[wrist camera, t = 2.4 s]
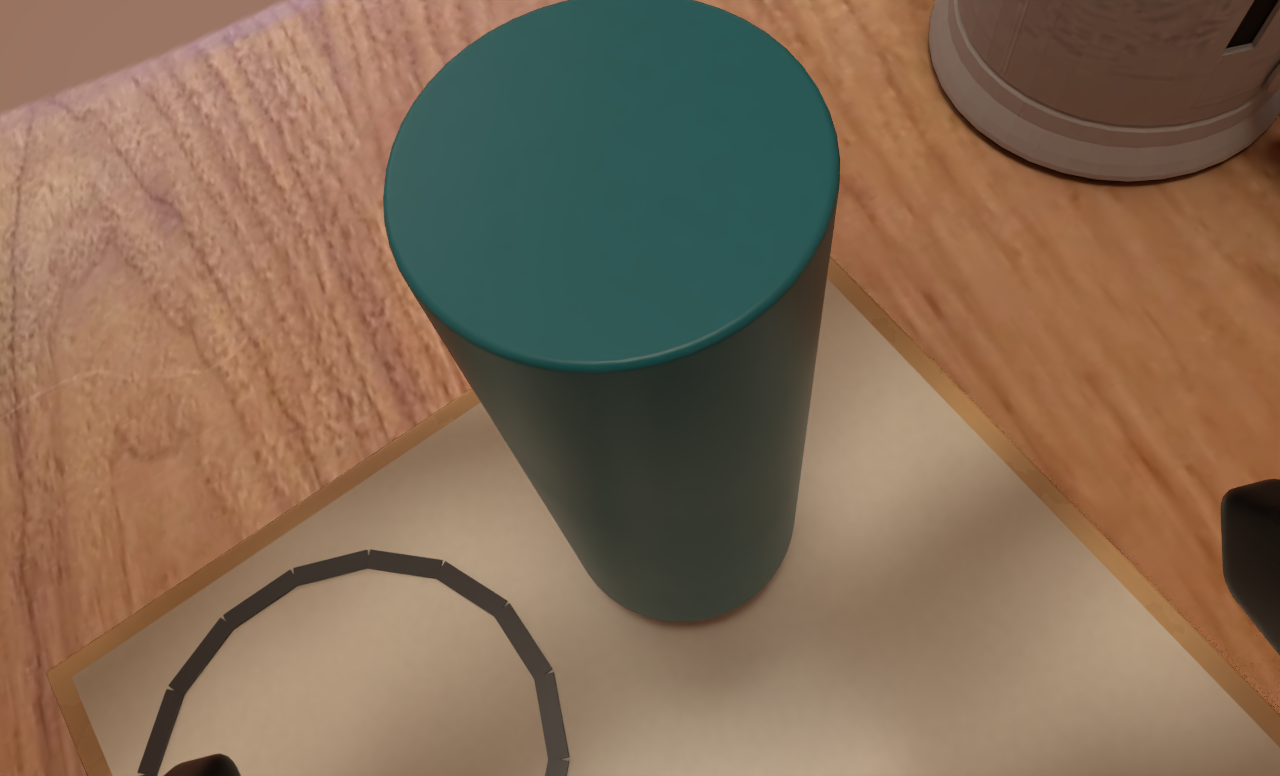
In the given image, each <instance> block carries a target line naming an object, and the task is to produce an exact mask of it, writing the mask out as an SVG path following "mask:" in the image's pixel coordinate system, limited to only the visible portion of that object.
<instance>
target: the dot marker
mask: <svg viewBox="0 0 1280 776" xmlns="http://www.w3.org/2000/svg"><path fill="white" fill-rule="evenodd" d="M839 180H840V156H839V148H838V141H837V134H836V131H835V128H834V125H833V121H832V118H831V115H830V112H829V110H828V108H827V106H826V104H825V101H824V99H823V97H822V95H821V93H820V91H819V89H818V88H817V86H816V85H815V83H814V82H813V80H812V79H811V77H810V76H809V75H808V73H807V72H806V70H805V69H804V67H803V66H802V65H801V64H800V63H799V62H798V61H797V60H796V59H795V58H794V56H793V55H792V54H791V53H790V52H789V51H788V50H787V49H786V48H785V47H784V46H782V45H781V44H780V43H779V42H777V41H776V40H775V39H774V38H772V37H771V36H770V35H769V34H767V33H766V32H764V31H763V30H761V29H759V28H758V27H756V26H755V25H753V24H751V23H750V22H748V21H746V20H745V19H742V18H740V17H738V16H736V15H734V14H731V13H729V12H727V11H725V10H723V9H720V8H717V7H714V6H711V5H707V4H704V3H701V2H698V1H694V0H567V1H563V2H560V3H556V4H553V5H550V6H546V7H543V8H540V9H537V10H534V11H532V12H529V13H527V14H525V15H522V16H520V17H517V18H515V19H512V20H511V21H509V22H507V23H505V24H503V25H501V26H499V27H497V28H496V29H494V30H492V31H490V32H488V33H487V34H485V35H484V36H482V37H481V38H479V39H478V40H476V41H475V42H473V43H472V44H470V45H469V46H467V47H466V48H465V49H464V50H462V51H461V52H460V53H459V54H458V55H457V56H455V57H454V58H453V59H452V60H451V61H449V62H448V63H447V64H446V65H445V66H444V67H443V68H442V69H441V70H440V71H439V72H438V73H437V74H436V75H435V77H434V78H433V79H432V80H431V81H430V82H429V83H428V84H427V86H426V87H425V88H424V90H423V91H422V92H421V94H420V95H419V96H418V98H417V99H416V100H415V102H414V103H413V105H412V106H411V108H410V110H409V112H408V113H407V115H406V117H405V119H404V120H403V122H402V124H401V126H400V129H399V131H398V134H397V136H396V138H395V141H394V143H393V146H392V149H391V153H390V157H389V161H388V165H387V169H386V176H385V186H384V196H383V203H384V221H385V227H386V231H387V236H388V241H389V245H390V248H391V251H392V253H393V256H394V259H395V261H396V264H397V266H398V269H399V271H400V272H401V274H402V276H403V277H404V279H405V281H406V282H407V284H408V286H409V287H410V289H411V291H412V292H413V294H414V296H415V297H416V299H417V300H418V302H419V304H420V305H421V307H422V308H423V310H424V312H425V313H426V315H427V317H428V318H429V320H430V321H431V323H432V325H433V326H434V328H435V329H436V331H437V333H438V334H439V336H440V337H441V339H442V341H443V342H444V344H445V345H446V347H447V349H448V350H449V352H450V353H451V355H452V357H453V358H454V360H455V361H456V363H457V365H458V366H459V368H460V369H461V371H462V373H463V374H464V376H465V377H466V379H467V381H468V382H469V384H470V385H471V387H472V389H473V390H474V392H475V393H476V395H477V397H478V398H479V400H480V401H481V403H482V405H483V406H484V408H485V409H486V411H487V413H488V414H489V416H490V418H491V419H492V421H493V422H494V424H495V426H496V427H497V429H498V430H499V432H500V434H501V435H502V437H503V438H504V440H505V442H506V443H507V445H508V446H509V448H510V450H511V451H512V453H513V454H514V456H515V458H516V459H517V461H518V462H519V464H520V466H521V467H522V469H523V470H524V472H525V474H526V475H527V477H528V478H529V480H530V482H531V483H532V485H533V486H534V488H535V490H536V491H537V493H538V494H539V496H540V498H541V499H542V501H543V502H544V504H545V506H546V507H547V509H548V511H549V512H550V514H551V515H552V517H553V519H554V520H555V522H556V523H557V525H558V527H559V528H560V530H561V531H562V533H563V535H564V536H565V538H566V539H567V541H568V543H569V544H570V546H571V547H572V549H573V551H574V552H575V554H576V555H577V557H578V559H579V560H580V562H581V563H582V565H583V567H584V568H585V570H586V571H587V573H588V575H589V576H590V577H591V578H592V580H593V581H594V582H595V583H596V585H597V586H598V587H599V588H600V589H601V590H602V591H603V592H604V593H605V594H606V595H608V596H609V597H610V598H611V599H613V600H614V601H616V602H617V603H618V604H620V605H621V606H623V607H625V608H627V609H629V610H631V611H633V612H635V613H638V614H640V615H643V616H646V617H649V618H653V619H658V620H662V621H673V622H688V621H698V620H703V619H709V618H712V617H715V616H718V615H721V614H724V613H726V612H729V611H731V610H733V609H735V608H737V607H739V606H740V605H742V604H743V603H745V602H746V601H748V600H749V599H751V598H752V597H753V596H754V595H756V594H757V593H758V592H759V591H760V590H761V589H762V588H763V587H764V586H765V585H766V584H767V583H768V582H769V581H770V579H771V578H772V577H773V576H774V574H775V573H776V571H777V570H778V568H779V567H780V565H781V563H782V561H783V559H784V557H785V555H786V553H787V550H788V547H789V544H790V541H791V538H792V533H793V527H794V521H795V514H796V506H797V499H798V491H799V484H800V476H801V469H802V461H803V454H804V446H805V439H806V431H807V424H808V416H809V409H810V401H811V394H812V386H813V379H814V371H815V364H816V356H817V349H818V341H819V334H820V326H821V319H822V311H823V304H824V296H825V289H826V281H827V274H828V266H829V259H830V251H831V244H832V236H833V229H834V221H835V214H836V206H837V199H838V191H839Z"/></svg>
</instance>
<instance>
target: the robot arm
mask: <svg viewBox="0 0 1280 776" xmlns="http://www.w3.org/2000/svg"><path fill="white" fill-rule="evenodd" d="M1221 533H1222V560H1223V573H1224V577H1225V581H1226V584H1227V586H1228V589H1229V590H1230V592H1231V594H1232V596H1233V597H1234V599H1235V600H1236V601H1237V603H1238V604H1239V605H1240V607H1241V608H1242V609H1243V610H1244V612H1245V613H1246V614H1247V615H1248V617H1249V618H1250V619H1251V620H1252V622H1253V623H1254V624H1255V625H1256V627H1257V628H1258V629H1259V630H1260V632H1261V633H1262V634H1263V635H1264V637H1265V638H1266V639H1267V640H1268V642H1269V643H1270V644H1271V645H1272V647H1273V648H1274V649H1275V650H1276V652H1277V653H1278V654H1279V655H1280V480H1279V479H1269V480H1263V481H1260V482H1256V483H1252V484H1248V485H1245V486H1241V487H1237V488H1234V489H1231V490H1229V491H1228V492H1227V493H1226V494H1225V495H1224V497H1223V499H1222V502H1221ZM164 776H241V775H240V773H239V770H238V768H237V766H236V765H235V763H234V762H233V760H232V759H231V758H230V757H229V756H226V755H224V754H221V753H218V754H213V755H209V756H206V757H202V758H198V759H194V760H190V761H186V762H182V763H180V764H178V765H176V766H174V767H173V768H172V769H171V770H169V771H168V772H167V773H166V774H165V775H164Z"/></svg>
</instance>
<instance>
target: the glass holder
mask: <svg viewBox="0 0 1280 776" xmlns="http://www.w3.org/2000/svg"><path fill="white" fill-rule="evenodd" d="M929 47H930V53H931V58H932V64H933V67H934V69H935V72H936V74H937V76H938V79H939V81H940V84H941V86H942V88H943V89H944V91H945V92H946V94H947V95H948V97H949V98H950V100H951V101H952V103H953V104H954V106H955V107H956V108H957V110H958V111H959V112H960V113H961V114H962V115H963V116H964V117H965V118H966V119H967V120H968V121H969V122H970V123H971V124H972V125H973V126H974V127H975V128H976V129H977V130H979V131H980V132H981V133H983V134H984V135H986V136H987V137H988V138H990V139H991V140H993V141H994V142H995V143H997V144H998V145H999V146H1001V147H1003V148H1005V149H1006V150H1008V151H1010V152H1012V153H1014V154H1016V155H1018V156H1020V157H1022V158H1024V159H1026V160H1028V161H1030V162H1033V163H1036V164H1038V165H1041V166H1044V167H1047V168H1050V169H1053V170H1056V171H1059V172H1062V173H1067V174H1071V175H1076V176H1081V177H1086V178H1091V179H1099V180H1114V181H1143V180H1157V179H1166V178H1170V177H1175V176H1179V175H1184V174H1189V173H1193V172H1197V171H1199V170H1202V169H1204V168H1207V167H1209V166H1212V165H1215V164H1217V163H1220V162H1222V161H1225V160H1226V159H1228V158H1230V157H1231V156H1233V155H1235V154H1236V153H1238V152H1239V151H1241V150H1243V149H1244V148H1246V147H1248V146H1249V145H1251V144H1252V143H1253V142H1254V141H1255V140H1256V139H1257V138H1258V137H1259V136H1260V135H1261V134H1263V133H1264V132H1265V131H1266V130H1267V129H1268V128H1269V127H1270V126H1271V124H1272V123H1273V121H1274V120H1275V119H1276V117H1277V116H1278V114H1279V113H1280V0H936V1H935V5H934V8H933V11H932V15H931V18H930V27H929Z"/></svg>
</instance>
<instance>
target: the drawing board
mask: <svg viewBox="0 0 1280 776" xmlns="http://www.w3.org/2000/svg"><path fill="white" fill-rule="evenodd" d="M46 675H47V677H48V680H49V682H50V685H51V687H52V690H53V692H54V694H55V697H56V699H57V702H58V704H59V707H60V709H61V712H62V714H63V717H64V719H65V722H66V724H67V727H68V729H69V732H70V734H71V737H72V739H73V741H74V744H75V746H76V749H77V751H78V754H79V756H80V759H81V761H82V764H83V766H84V769H85V771H86V774H87V776H164V775H165V774H166V773H167V772H168V771H169V770H171V769H172V768H173V767H174V766H176V765H178V764H180V763H182V762H186V761H190V760H194V759H198V758H202V757H206V756H209V755H213V754H218V753H221V754H224V755H226V756H229V757H230V758H231V759H232V760H233V762H234V763H235V765H236V766H237V768H238V770H239V773H240V775H241V776H1280V715H1279V714H1278V713H1277V712H1276V711H1275V710H1274V709H1273V707H1272V706H1271V705H1270V704H1269V703H1268V702H1267V701H1266V700H1265V699H1264V698H1263V697H1262V696H1261V695H1260V694H1259V693H1258V692H1257V691H1256V690H1255V689H1254V688H1253V687H1252V686H1251V685H1250V684H1249V683H1248V682H1247V681H1246V680H1245V679H1244V678H1243V677H1242V676H1241V675H1240V674H1239V673H1238V672H1237V671H1236V670H1235V669H1234V668H1233V667H1232V666H1231V665H1230V664H1229V663H1228V662H1227V661H1226V660H1225V658H1224V657H1223V656H1222V655H1221V654H1220V653H1219V652H1218V651H1217V650H1216V649H1215V648H1214V647H1213V646H1212V645H1211V644H1210V643H1209V642H1208V641H1207V640H1206V639H1205V638H1204V637H1203V636H1202V635H1201V634H1200V633H1199V632H1198V631H1197V630H1196V629H1195V628H1194V627H1193V626H1192V625H1191V624H1190V623H1189V622H1188V621H1187V620H1186V619H1185V618H1184V617H1183V616H1182V615H1181V614H1180V613H1179V612H1178V610H1177V609H1176V608H1175V607H1174V606H1173V605H1172V604H1171V603H1170V602H1169V601H1168V600H1167V599H1166V598H1165V597H1164V596H1163V595H1162V594H1161V593H1160V592H1159V591H1158V590H1157V589H1156V588H1155V587H1154V586H1153V585H1152V584H1151V583H1150V582H1149V581H1148V580H1147V579H1146V578H1145V577H1144V576H1143V575H1142V574H1141V573H1140V572H1139V571H1138V570H1137V569H1136V568H1135V567H1134V566H1133V565H1132V564H1131V563H1130V561H1129V560H1128V559H1127V558H1126V557H1125V556H1124V555H1123V554H1122V553H1121V552H1120V551H1119V550H1118V549H1117V548H1116V547H1115V546H1114V545H1113V544H1112V543H1111V542H1110V541H1109V540H1108V539H1107V538H1106V537H1105V536H1104V535H1103V534H1102V533H1101V532H1100V531H1099V530H1098V529H1097V528H1096V527H1095V526H1094V525H1093V524H1092V523H1091V522H1090V521H1089V520H1088V519H1087V518H1086V517H1085V516H1084V515H1083V514H1082V512H1081V511H1080V510H1079V509H1078V508H1077V507H1076V506H1075V505H1074V504H1073V503H1072V502H1071V501H1070V500H1069V499H1068V498H1067V497H1066V496H1065V495H1064V494H1063V493H1062V492H1061V491H1060V490H1059V489H1058V488H1057V487H1056V486H1055V485H1054V484H1053V483H1052V482H1051V481H1050V480H1049V479H1048V478H1047V477H1046V476H1045V475H1044V474H1043V473H1042V472H1041V471H1040V470H1039V469H1038V468H1037V467H1036V466H1035V465H1034V463H1033V462H1032V461H1031V460H1030V459H1029V458H1028V457H1027V456H1026V455H1025V454H1024V453H1023V452H1022V451H1021V450H1020V449H1019V448H1018V447H1017V446H1016V445H1015V444H1014V443H1013V442H1012V441H1011V440H1010V439H1009V438H1008V437H1007V436H1006V435H1005V434H1004V433H1003V432H1002V431H1001V430H1000V429H999V428H998V427H997V426H996V425H995V424H994V423H993V422H992V421H991V420H990V419H989V418H988V417H987V415H986V414H985V413H984V412H983V411H982V410H981V409H980V408H979V407H978V406H977V405H976V404H975V403H974V402H973V401H972V400H971V399H970V398H969V397H968V396H967V395H966V394H965V393H964V392H963V391H962V390H961V389H960V388H959V387H958V386H957V385H956V384H955V383H954V382H953V381H952V380H951V379H950V378H949V377H948V376H947V375H946V374H945V373H944V372H943V371H942V370H941V369H940V368H939V366H938V365H937V364H936V363H935V362H934V361H933V360H932V359H931V358H930V357H929V356H928V355H927V354H926V353H925V352H924V351H923V350H922V349H921V348H920V347H919V346H918V345H917V344H916V343H915V342H914V341H913V340H912V339H911V338H910V337H909V336H908V335H907V334H906V333H905V332H904V331H903V330H902V329H901V328H900V327H899V326H898V325H897V324H896V323H895V322H894V321H893V320H892V319H891V317H890V316H889V315H888V314H887V313H886V312H885V311H884V310H883V309H882V308H881V307H880V306H879V305H878V304H877V303H876V302H875V301H874V300H873V299H872V298H871V297H870V296H869V295H868V294H867V293H866V292H865V291H864V290H863V289H862V288H861V287H860V286H859V285H858V284H857V283H856V282H855V281H854V280H853V279H852V278H851V277H850V276H849V275H848V274H847V273H846V272H845V271H844V270H843V268H842V267H841V266H840V265H839V264H838V263H837V262H836V261H835V260H834V259H833V258H832V257H831V256H830V259H829V266H828V274H827V281H826V289H825V296H824V304H823V311H822V319H821V326H820V334H819V341H818V349H817V356H816V364H815V371H814V379H813V386H812V394H811V401H810V409H809V416H808V424H807V431H806V439H805V446H804V454H803V461H802V469H801V476H800V484H799V491H798V499H797V506H796V514H795V521H794V527H793V533H792V538H791V541H790V544H789V547H788V550H787V553H786V555H785V557H784V559H783V561H782V563H781V565H780V567H779V568H778V570H777V571H776V573H775V574H774V576H773V577H772V578H771V579H770V581H769V582H768V583H767V584H766V585H765V586H764V587H763V588H762V589H761V590H760V591H759V592H758V593H757V594H756V595H754V596H753V597H752V598H751V599H749V600H748V601H746V602H745V603H743V604H742V605H740V606H739V607H737V608H735V609H733V610H731V611H729V612H726V613H724V614H721V615H718V616H715V617H712V618H709V619H703V620H698V621H688V622H673V621H662V620H658V619H653V618H649V617H646V616H643V615H640V614H638V613H635V612H633V611H631V610H629V609H627V608H625V607H623V606H621V605H620V604H618V603H617V602H616V601H614V600H613V599H611V598H610V597H609V596H608V595H606V594H605V593H604V592H603V591H602V590H601V589H600V588H599V587H598V586H597V585H596V583H595V582H594V581H593V580H592V578H591V577H590V576H589V575H588V573H587V571H586V570H585V568H584V567H583V565H582V563H581V562H580V560H579V559H578V557H577V555H576V554H575V552H574V551H573V549H572V547H571V546H570V544H569V543H568V541H567V539H566V538H565V536H564V535H563V533H562V531H561V530H560V528H559V527H558V525H557V523H556V522H555V520H554V519H553V517H552V515H551V514H550V512H549V511H548V509H547V507H546V506H545V504H544V502H543V501H542V499H541V498H540V496H539V494H538V493H537V491H536V490H535V488H534V486H533V485H532V483H531V482H530V480H529V478H528V477H527V475H526V474H525V472H524V470H523V469H522V467H521V466H520V464H519V462H518V461H517V459H516V458H515V456H514V454H513V453H512V451H511V450H510V448H509V446H508V445H507V443H506V442H505V440H504V438H503V437H502V435H501V434H500V432H499V430H498V429H497V427H496V426H495V424H494V422H493V421H492V419H491V418H490V416H489V414H488V413H487V411H486V409H485V408H484V406H483V405H482V403H481V401H480V400H479V398H478V397H477V395H476V393H475V392H474V390H473V389H470V390H469V391H467V392H466V393H464V394H463V395H461V396H460V397H458V398H457V399H455V400H454V401H452V402H451V403H449V404H448V405H446V406H445V407H443V408H442V409H440V410H439V411H437V412H436V413H434V414H433V415H431V416H430V417H428V418H427V419H425V420H424V421H422V422H421V423H419V424H418V425H416V426H415V427H413V428H412V429H410V430H409V431H407V432H406V433H404V434H403V435H401V436H400V437H398V438H397V439H395V440H394V441H392V442H391V443H389V444H388V445H386V446H385V447H383V448H382V449H380V450H379V451H377V452H376V453H374V454H373V455H371V456H370V457H368V458H367V459H365V460H364V461H362V462H361V463H359V464H358V465H356V466H355V467H353V468H352V469H350V470H349V471H347V472H346V473H344V474H343V475H341V476H340V477H338V478H337V479H335V480H334V481H332V482H331V483H329V484H328V485H326V486H325V487H323V488H322V489H320V490H319V491H317V492H316V493H314V494H313V495H311V496H310V497H308V498H307V499H305V500H304V501H302V502H301V503H299V504H298V505H296V506H295V507H293V508H292V509H290V510H289V511H287V512H286V513H284V514H283V515H281V516H280V517H278V518H277V519H275V520H274V521H272V522H271V523H269V524H268V525H266V526H265V527H263V528H262V529H260V530H259V531H257V532H256V533H254V534H253V535H251V536H250V537H248V538H247V539H245V540H244V541H242V542H241V543H239V544H238V545H236V546H235V547H233V548H232V549H230V550H229V551H227V552H226V553H224V554H223V555H221V556H220V557H218V558H217V559H215V560H214V561H212V562H211V563H209V564H208V565H206V566H205V567H203V568H202V569H200V570H199V571H197V572H196V573H194V574H193V575H191V576H190V577H188V578H187V579H185V580H184V581H182V582H181V583H179V584H178V585H176V586H175V587H173V588H172V589H170V590H169V591H167V592H166V593H164V594H163V595H161V596H160V597H158V598H157V599H155V600H154V601H152V602H151V603H149V604H148V605H146V606H145V607H143V608H142V609H140V610H139V611H137V612H136V613H134V614H133V615H131V616H130V617H128V618H127V619H125V620H124V621H122V622H121V623H119V624H118V625H116V626H115V627H113V628H112V629H110V630H109V631H107V632H106V633H104V634H103V635H101V636H100V637H98V638H97V639H95V640H94V641H92V642H91V643H89V644H88V645H86V646H85V647H83V648H82V649H80V650H79V651H77V652H76V653H74V654H73V655H71V656H70V657H68V658H67V659H65V660H64V661H62V662H61V663H59V664H58V665H56V666H55V667H53V668H52V669H50V670H49V671H48V672H47V673H46Z"/></svg>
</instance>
